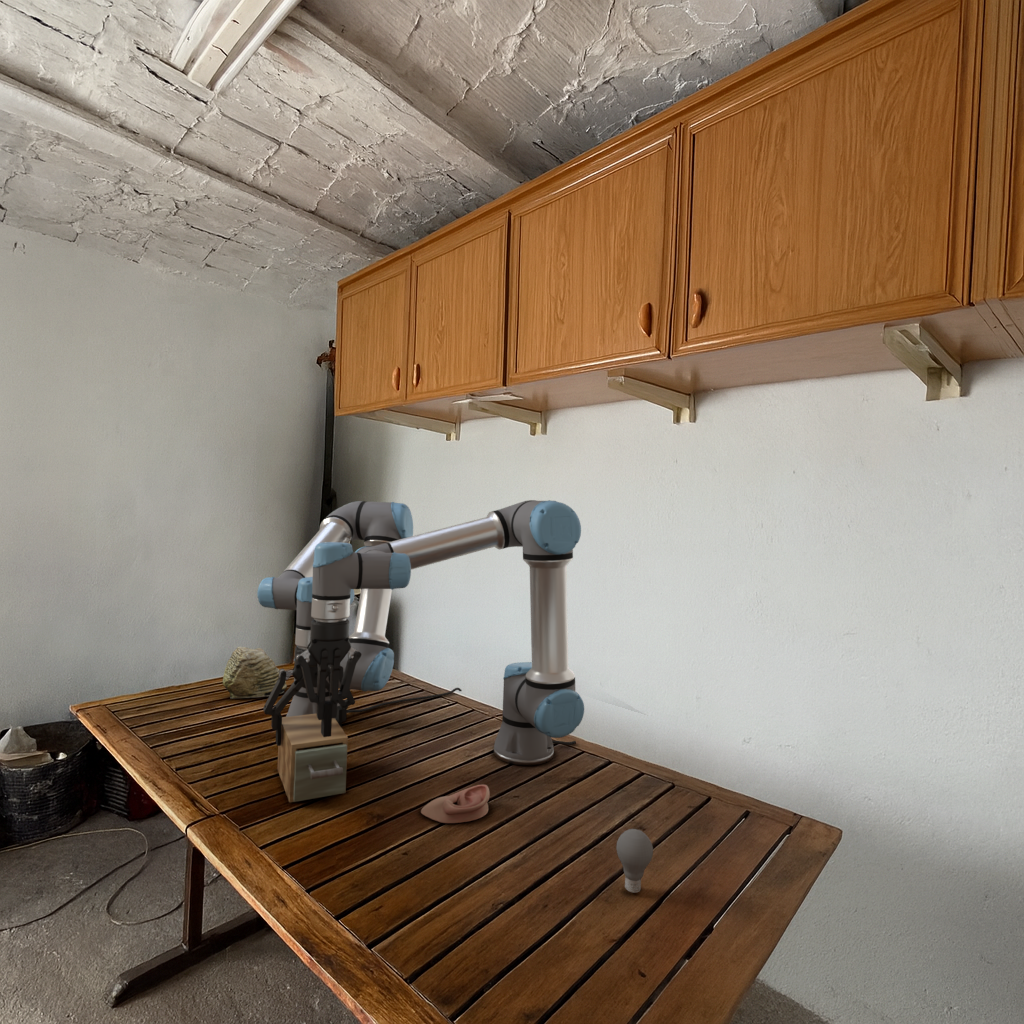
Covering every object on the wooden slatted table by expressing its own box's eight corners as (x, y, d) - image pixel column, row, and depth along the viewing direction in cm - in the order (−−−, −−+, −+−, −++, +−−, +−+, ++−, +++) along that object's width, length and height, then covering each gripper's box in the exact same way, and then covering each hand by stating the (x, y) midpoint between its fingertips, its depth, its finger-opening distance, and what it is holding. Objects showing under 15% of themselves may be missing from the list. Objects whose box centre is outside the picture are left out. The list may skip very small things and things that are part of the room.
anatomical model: (416, 799, 126) (434, 775, 137) (415, 819, 126) (433, 793, 137) (480, 808, 123) (494, 783, 134) (479, 829, 123) (493, 802, 134)
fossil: (218, 695, 195) (220, 647, 195) (278, 685, 208) (279, 640, 207) (228, 703, 189) (230, 653, 188) (289, 692, 201) (290, 645, 201)
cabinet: (345, 792, 136) (347, 737, 136) (289, 802, 131) (291, 744, 130) (328, 761, 151) (330, 711, 151) (277, 769, 146) (279, 717, 146)
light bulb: (610, 879, 108) (613, 822, 108) (644, 879, 109) (647, 822, 109) (619, 902, 102) (622, 840, 102) (655, 901, 103) (658, 840, 103)
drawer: (352, 804, 129) (353, 755, 129) (299, 814, 124) (301, 764, 124) (329, 763, 148) (330, 721, 148) (282, 771, 143) (284, 727, 143)
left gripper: (256, 653, 135) (252, 753, 135) (370, 645, 146) (366, 737, 146) (252, 646, 141) (248, 741, 141) (362, 639, 153) (358, 727, 153)
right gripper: (300, 624, 122) (295, 745, 122) (367, 620, 128) (362, 736, 128) (293, 616, 128) (289, 732, 129) (357, 613, 135) (353, 724, 135)
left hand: (308, 739), depth 144 cm, fingers open, 12 cm apart
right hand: (326, 734), depth 129 cm, fingers closed
